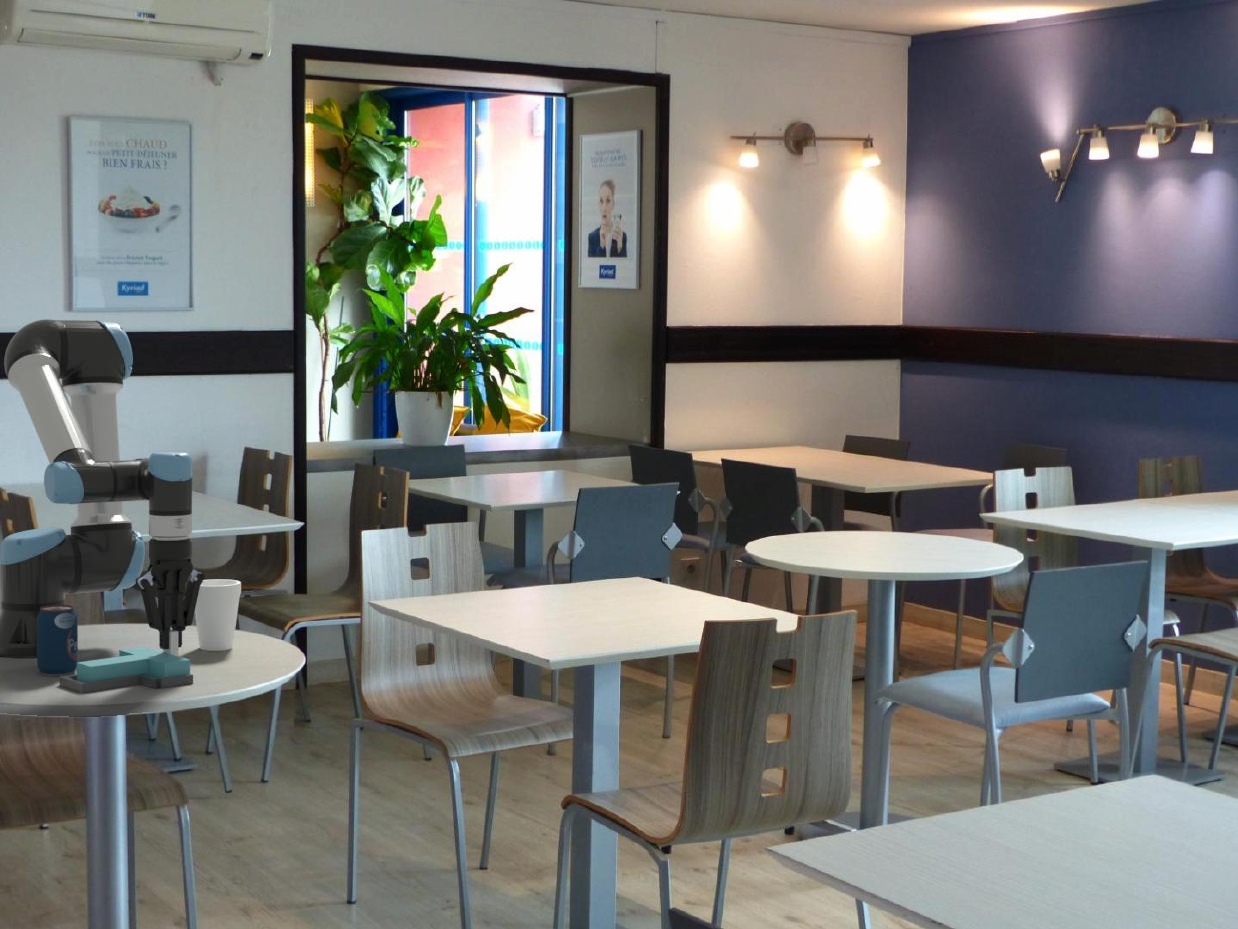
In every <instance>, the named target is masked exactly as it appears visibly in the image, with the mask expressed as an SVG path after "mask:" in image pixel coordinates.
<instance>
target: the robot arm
mask: <svg viewBox="0 0 1238 929" xmlns="http://www.w3.org/2000/svg"><path fill="white" fill-rule="evenodd" d="M6 347H7V348H6V349H5V353H4V354H5V355H4V359H3V360H4V362H3V365H4V371H5V374H6V378H7V380H8V382H9V384H10V386H11V387H12V388H13V389H14V390H16V391H17V392H19V394H20V396H21V399H22V401H23V403H24V406H25V408H26V410H27V412H28V416H29V417H30V420H31V422H32V424H33V426H34V429H35V432H36V434H37V437H38V439H39V441H40V444H41V446H42V448H43V451H44V452H45V456H46V457H47V461H48V462H49V464H48V465H47V466H46V468H45V470H44V475H43V485H44V489H45V490H44V491H45V495H46V498H47V499H48V500H49V501H50V502H51V503H53V504H57V505H58V504H60V505H61V504H65V505H66V504H68V505H77V508H76V509H77V517H76V519H75V520H74V521H73V522H72V523H71V524H70V534H66V532H65V529H63V528H61V527H45V528H43V527H41V528H35V529H29V530H23V531H20V532H15V533H12V534H10V535H9V534H8V536H6V537H5V538H4V539H3V540H2V543H1V546H0V548H1V549H0V608H1V609H0V657H9V658H37V617H38V615H39V613H40V611H41V610H40V608H41V607H44V606H49V605H66V595H71V594H83V593H84V594H87V593H96V592H97V593H98V592H114V591H117V590H126V589H129V588H131V587H133V586H134V585H137V586H138V588H139V590H140V593H141V597H142V601H143V605H144V609H145V614H146V618H147V624H148V627H149V628H151V629H153V630H157V631H158V632H159V633H158V635H159V637H158V640H159V644H158V646H159V648H160V650H162V652H165V653H168V654H172V655H175V656H179V648H182V646H183V632H184V631H186V627H190V626H192V624H193V622H194V618H195V617H194V616H195V607H196V603H197V598H198V593H199V589H200V585H201V583H202V582H203V580H205V578H206V575H205V574H204V573H202V572H199V571H198V570H196V569H194V564H193V562H192V557H193V540H192V539H191V538H190V536H192V535H193V528H192V527H193V476H194V471H193V466H192V463H193V462H192V456H191V455H190V454H189V453H187V452H185V451H182V452H181V451H155V452H152V453H151V454H150V455H149V457H144V458H134V459H130V460H128V459H127V460H126V459H125V460H120V459H121V457H120V443H119V442H120V441H119V440H120V438H119V427H118V426H119V424H118V407H117V394H119V392H120V391H121V389H123V388H124V381H125V380H127V379H128V378H129V377H130V376H131V373H132V371H133V367H132V366H133V363H134V361H133V360H134V358H133V350H132V345H131V342H130V339H129V336H128V334H127V332H126V331H125V330H124V328H123V327H122V326H121V325H119V324H118V323H116V322H112V321H104V320H103V321H102V320H98V319H97V320H79V319H76V320H75V319H72V320H70V319H68V320H67V319H38V320H35V321H33V322H30V323H28V324H25V326H23V327H22V328H20V329H19V330H18V331H17V332H16V333H15V334H14V335H13V336H12V338H11V339H10V340H9V342H8V345H7V346H6ZM67 395H68V396H69V397H70V401H69V399H68V396H67ZM136 501H137V502H140V501H148V536H150V537H151V538H150V539H149V540H148V558H149V566H148V567H147V572H146V574H144V575H143V576H142V577H140V576H141V574H142V572H143V568H144V564H145V551H146V549H145V542H144V540H143V539H144V538H143V535H142V534H141V533H140V531H137V530H135V529H133V524H132V520H130V519H129V518H128V517H127V516H126V515H125V513H124V507H123V504H124V503H123V502H136ZM187 581H188V582H187ZM186 583H187V585H186ZM154 584H155V585H156V593H157V600H156V595H155V591H154V588H153V585H154Z"/></svg>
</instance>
